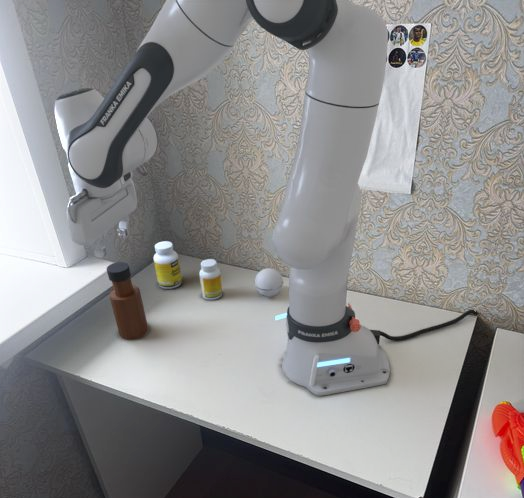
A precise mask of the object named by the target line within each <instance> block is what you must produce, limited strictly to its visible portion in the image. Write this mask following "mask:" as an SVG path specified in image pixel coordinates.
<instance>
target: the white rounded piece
mask: <svg viewBox="0 0 524 498" xmlns="http://www.w3.org/2000/svg"><path fill="white" fill-rule="evenodd" d="M254 286H255V290H256V291H257V292H258V293H259V295H261V296H263V297H266V298H271V297H275V296H276V295H278V294H279V293H280V292H281V291H282V289H283V287H284V278H283V275H282V274H281V273H280V272H279V271H278V270H276V269H275V268H272V267H267V268H263V269H261V270H260V271H259V272H258V273H257V274H256V276H255V277H254ZM285 287H286V288H287V287H288V288H289V285H287V286H286V285H285Z"/></svg>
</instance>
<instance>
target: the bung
mask: <svg viewBox="0 0 524 498" xmlns="http://www.w3.org/2000/svg"><path fill="white" fill-rule="evenodd" d="M106 273H107V276H108V280H109V281H111V283H112V282H122V281H125V280H127V279H129V278H131V276H132V274H131V268H130V265H129V264H128V262H125V261H117V262H113V263H111V264H109V265H107V266H106Z"/></svg>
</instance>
